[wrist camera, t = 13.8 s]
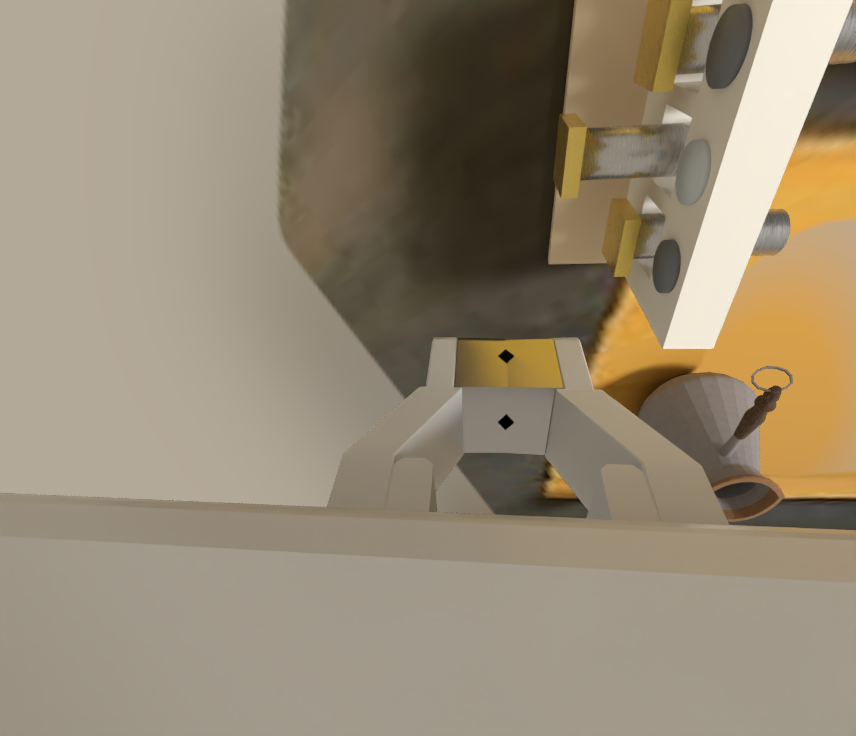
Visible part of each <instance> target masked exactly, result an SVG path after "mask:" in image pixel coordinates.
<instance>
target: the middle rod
mask: <svg viewBox="0 0 856 736" xmlns="http://www.w3.org/2000/svg"><path fill="white" fill-rule="evenodd" d="M690 123H691V122H682V123H664V124H646V125H629V126H611V127H593V128H587V126H586V125H585V124H584V122H583V121H582V120H581V119H580V118H579V117H578V115H577V114H576V113H569V114H559V124H558V134H557V144H556V154H555V164H554V174H553V180H554V183H555V185H556V188H557V190H558V193H559V195H560V197H561V199H566V198H578V191H579V183H580V181H583V180H607V179H630V178H653V177H676V173H677V168H678V164H679V160H680V157H681V155H682V152H683V150H684V146H685V143H686V139H687V135H688V131H689V127H690Z"/></svg>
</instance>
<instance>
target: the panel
mask: <svg viewBox="0 0 856 736" xmlns="http://www.w3.org/2000/svg"><path fill="white" fill-rule="evenodd" d="M852 2H853V0H693V2H692V6H702V5H714V4H722V5H721V9H720V13H719V17H718V21H717V24H716V27H715V30H714V32H713V35H712V38H711V41H710V44H709V48H708V53H707V59H706V66H705V70H704V73H694V74H679V75H676V76H675V81H674V85H673V89H672V91H667V92H651V91H649V90H647V89H645V88H643V87H642V86H640V85H638V84H636V83H634V82H633V80H634V74H635V69H636V63H637V58H638V52H639V47H640V41H641V36H642V30H643V25H644V20H645V14H646V9H647V3H648V0H575V1H574V11H573V20H572V30H571V40H570V49H569V59H568V69H567V78H566V88H565V98H564V107H563V114H569V113H576V114H577V115H578V117H579V118H580V119H581V120H582V121H583V122H584V124H585V125H586V126H587V128H593V127H611V126H629V125H646V124H664V123H682V122H691V123H690V127H689V131H688V135H687V139H686V143H685V146H684V150H683V152H682V155H681V157H680V160H679V164H678V168H677V173H676V177H653V178H630V179H607V180H583V181H580V183H579V191H578V198H566V199H561V197H560V195H559V193H558V190H557V188H556V185H555V194H554V204H553V214H552V223H551V233H550V243H549V252H548V263H549V264H584V263H607V262H606V260H605V258H604V255H603V253H602V248H603V242H604V237H605V231H606V226H607V220H608V215H609V209H610V204H611V199H614V198H627V200H628V201H629V202H630V204H631V205H632V206H633V208H634V209H635V211H636V212H637V213H638V214H648V213H663V214H664V215H665V216H666V219H665V223H664V226H663V230H662V234H661V238H660V242H659V245H658V247H657V249H656V252H655V256H654V258H649V259H633V261H632V265H631V270H630V274H629V277H625V278H626V280H627V282H628V284H629V285H630V287H631V289H632V291H633V293H634V295H635V297H636V299H637V301H638V303H639V305H640V306H641V308H642V310H643V312H644V314H645V316H646V318H647V320H648V322H649V324H650V326H651V327H652V329H653V331H654V333H655V335H656V337H657V339H658V341H659V343H660V345H661V347H662V348H663V349H713V348H714V345H715V343H716V340H717V338H718V335H719V333H720V330H721V328H722V325H723V323H724V320H725V318H726V315H727V313H728V310H729V308H730V305H731V303H732V300H733V298H734V296H735V293H736V291H737V288H738V286H739V283H740V281H741V278H742V276H743V273H744V271H745V268H746V266H747V263H748V261H749V258H750V256H751V253H752V251H753V248H754V246H755V243H756V241H757V238H758V236H759V233H760V231H761V228H762V226H763V223H764V221H765V218H766V216H767V213H768V211H769V208H770V206H771V203H772V201H773V199H774V196H775V194H776V191H777V189H778V186H779V184H780V181H781V179H782V176H783V174H784V171H785V169H786V166H787V164H788V161H789V159H790V156H791V154H792V151H793V149H794V146H795V144H796V141H797V139H798V136H799V134H800V131H801V129H802V126H803V124H804V121H805V119H806V116H807V114H808V111H809V109H810V107H811V104H812V102H813V99H814V97H815V94H816V92H817V89H818V87H819V84H820V82H821V79H822V77H823V74H824V72H825V69H826V67H827V64H828V62H829V59H830V57H831V54H832V52H833V49H834V47H835V44H836V42H837V39H838V37H839V34H840V32H841V29H842V27H843V24H844V22H845V19H846V17H847V15H848V12H849V10H850V7H851V5H852Z"/></svg>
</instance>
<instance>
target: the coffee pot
mask: <svg viewBox="0 0 856 736" xmlns="http://www.w3.org/2000/svg"><path fill="white" fill-rule="evenodd" d="M766 368H768V369H778V370H781V371H784V372H786V374H787V375H788V376H789V377H790V384H788V385H787V386H786V387H784V388H780V387H779V386H773V387H771V388H769V389H764V388H761V387H758V386H757V384H756V383H755V382H754V375H755V374H756V373H757V372H758V371H761V370H763V369H766ZM792 381H793V379H792V375H791V374H790V373H789V372H788V371H787V370H786V369H783V368H780V367H773V366H766V367H763V368H760V369H758V370H757V371H756V372H755V373H754V374H753V375H752V384H753V385H754V386H755V387H756V388H757V389H760V390H763V391H765V392H764V394H763V395H761V396H758V397H757V396H756V394H755V392H754V391H753V390H752V389H751V388H750V387H748V386H747V385H746V384H744V382H742V381H740V380H737V379H735V378H733V377H730V376H728V375H725V374H718V373H711V372H707V373H692V374H685V375H681V376H677V377H675V378H673V379H670V380H668V381H666V382H665V383H663V384H662V385H660V386H659V387H658V388H657V389H655V390H654V391H653V392H652V393H651V394H650V395H649V396H648V397H647V398H646V399H645V401H644V403H643V404H642V406H641V408H640V410H639V414H638V418H640V419H641V420H642V421H644V422H645V423H646V424H648V425H649V426H650V427H651V428H653V429H654V430H655V431H657V432H658V433H659V434H661V435H662V436H663V437H665V438H666V439H667V440H669V441H670V442H671V443H673V444H674V445H675V446H676V447H678V448H679V449H680V450H682V451H683V452H684V453H686V454H687V455H688V456H690V457H691V458H692V459H694V460H695V461H696V462H698V463H699V464H700V465H701V466H702V467H703V470H704V472H705V474H706V476H707V478H708V480H709V482H710V485H711V487H712V489H713V491H714V493H715V495H716V498H717V500H718V502H719V504H720V506H721V508H722V511H723V513H724V515H725V517H726V519H727V521H728V522H733V521H741V520H747V519H750V518H754V517H757V516H759V515H761V514H764V513H765V512H767V511H769V510H770V509H772V508H773V507H774V506H775V505H777V504H778V503H779V502H780V501H781V500H782V499H783V498H784V494H783V492H782V490H781V488H780V487H779V486H778V485H777V484H776V483H775V482H773V481H772V480H770V479H768V478H766V477H764V476H763V475H762V474H761V473H760V425H761V424H762V423H763V422H764V421H765V418H766V415H767V412H770V411H773V410H774V409H775V407H776V401H778V400H779V397H780V395H781V391H782V390H784V389H786V388H788V387H789V386H790V385H791V384H792V383H793V382H792Z"/></svg>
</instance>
